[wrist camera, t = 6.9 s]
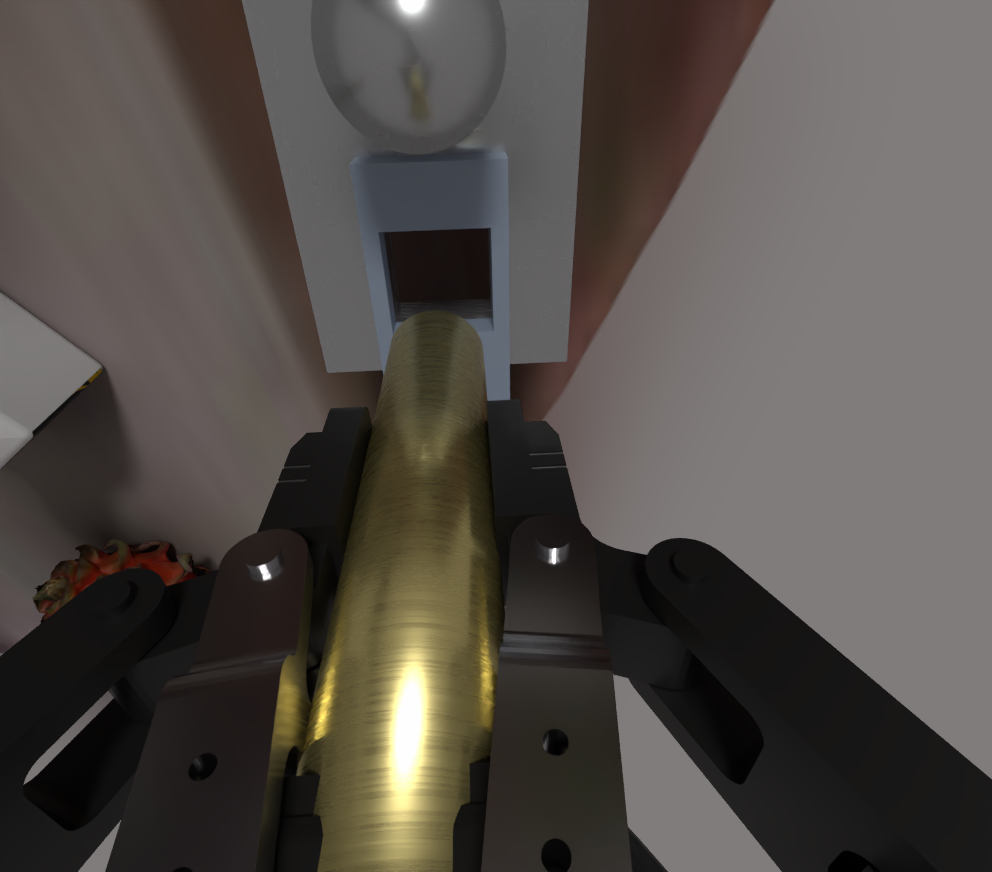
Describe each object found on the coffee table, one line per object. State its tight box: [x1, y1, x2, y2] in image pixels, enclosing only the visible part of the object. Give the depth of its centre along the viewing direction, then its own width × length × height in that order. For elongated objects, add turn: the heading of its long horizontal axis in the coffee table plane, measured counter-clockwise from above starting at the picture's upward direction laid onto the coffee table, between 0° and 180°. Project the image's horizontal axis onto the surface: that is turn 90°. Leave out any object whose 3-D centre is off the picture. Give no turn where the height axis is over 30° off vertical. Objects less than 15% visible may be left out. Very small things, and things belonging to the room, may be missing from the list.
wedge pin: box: [296, 311, 505, 872], centre depth 10 cm, size 3×3×13 cm
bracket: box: [349, 153, 510, 401], centre depth 25 cm, size 5×12×10 cm, turn 1°
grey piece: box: [242, 0, 589, 373], centre depth 20 cm, size 10×14×14 cm
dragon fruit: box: [32, 539, 211, 623], centre depth 39 cm, size 8×8×12 cm
